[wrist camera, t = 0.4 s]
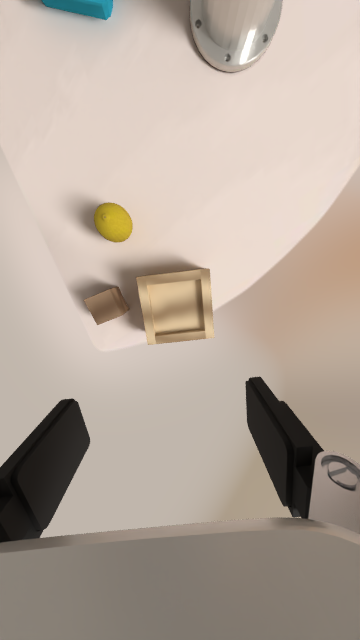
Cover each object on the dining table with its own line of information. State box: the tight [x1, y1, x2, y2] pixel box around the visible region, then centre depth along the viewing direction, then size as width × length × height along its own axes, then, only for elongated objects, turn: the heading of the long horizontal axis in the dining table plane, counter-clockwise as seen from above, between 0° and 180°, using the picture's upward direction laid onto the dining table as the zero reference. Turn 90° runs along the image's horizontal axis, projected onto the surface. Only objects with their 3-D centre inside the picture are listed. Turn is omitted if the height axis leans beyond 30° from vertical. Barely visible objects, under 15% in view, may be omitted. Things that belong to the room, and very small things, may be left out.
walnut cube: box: [84, 287, 129, 325], centre depth 35 cm, size 5×5×5 cm
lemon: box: [94, 203, 132, 242], centre depth 30 cm, size 6×6×8 cm
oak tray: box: [136, 269, 214, 345], centre depth 34 cm, size 12×12×6 cm
